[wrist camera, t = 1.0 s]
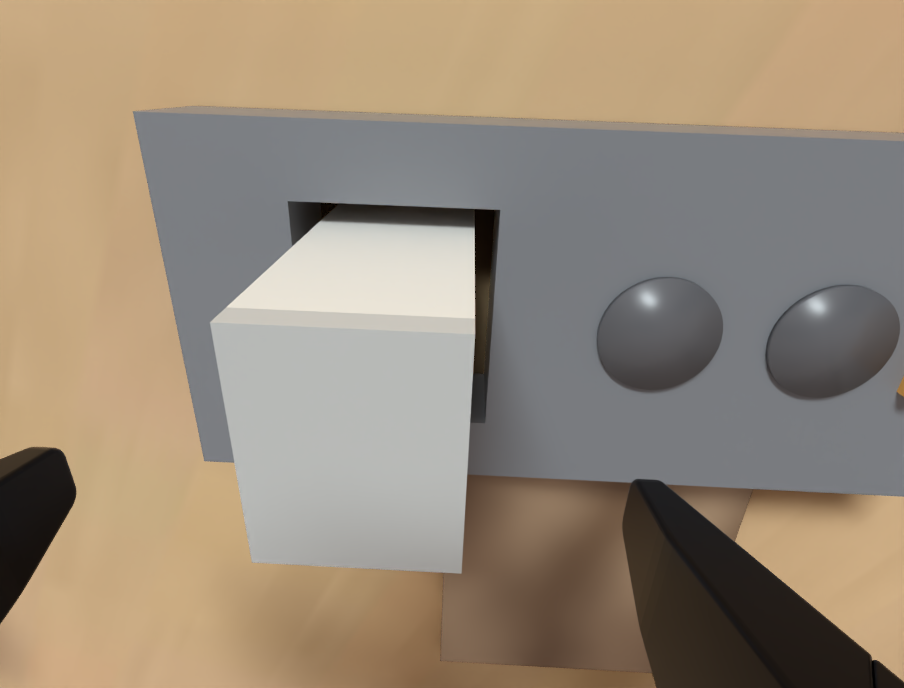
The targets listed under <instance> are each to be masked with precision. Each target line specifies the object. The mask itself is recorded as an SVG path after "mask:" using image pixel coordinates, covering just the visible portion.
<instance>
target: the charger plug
mask: <svg viewBox="0 0 904 688" xmlns="http://www.w3.org/2000/svg"><path fill="white" fill-rule="evenodd" d="M210 326H211V332H212V337H213V343H214V349H215V354H216V360H217V366H218V371H219V377H220V383H221V389H222V394H223V400H224V406H225V411H226V417H227V423H228V429H229V434H230V440H231V446H232V451H233V457H234V463H235V468H236V474H237V480H238V486H239V491H240V497H241V503H242V508H243V514H244V520H245V525H246V531H247V537H248V543H249V548H250V554H251V560H252V563H271V564H290V565H309V566H327V567H346V568H365V569H384V570H402V571H421V572H440V573H459V574H461V573H462V556H463V538H464V521H465V503H466V486H467V468H468V451H469V433H470V416H471V398H472V381H473V363H474V346H475V209H466V208H442V207H418V206H394V205H370V204H346V203H339V204H338V205H337V206H336V207H335V208H334V209H333V210H332V211H330V212H329V213H328V214H327V215H326V216H325V217H324V218H323V219H322V220H321V221H320V222H318V223H317V224H316V225H315V226H314V227H313V228H312V229H311V230H310V231H309V232H308V233H307V234H305V235H304V236H303V237H302V238H301V239H300V240H299V241H298V242H297V243H296V244H295V245H293V246H292V247H291V248H290V249H289V250H288V251H287V252H286V253H285V254H284V255H283V256H282V257H280V258H279V259H278V260H277V261H276V262H275V263H274V264H273V265H272V266H271V267H270V268H268V269H267V270H266V271H265V272H264V273H263V274H262V275H261V276H260V277H259V278H258V279H256V280H255V281H254V282H253V283H252V284H251V285H250V286H249V287H248V288H247V289H246V290H245V291H243V292H242V293H241V294H240V295H239V296H238V297H237V298H236V299H235V300H234V301H233V302H231V303H230V304H229V305H228V306H227V307H226V308H225V309H224V310H223V311H222V312H221V313H220V314H218V315H217V316H216V317H215V318H214V319H213V320H212V321H211V322H210Z"/></svg>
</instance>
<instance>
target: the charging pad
mask: <svg viewBox="0 0 904 688" xmlns="http://www.w3.org/2000/svg"><path fill="white" fill-rule="evenodd" d="M630 485H631V483H627V482H607V481H587V480H568V479H548V478H528V477H509V476H489V475H469V474H467V486H466V503H465V521H464V538H463V556H462V573H461V574H459V573H444V577H443V604H442V631H441V658H440V661H451V662H469V663H486V664H504V665H521V666H539V667H556V668H574V669H591V670H609V671H626V672H644V673H652V671H651V667H650V664H649V660H648V657H647V654H646V650H645V647H644V643H643V639H642V636H641V632H640V628H639V623H638V618H637V612H636V607H635V601H634V595H633V590H632V584H631V578H630V573H629V567H628V562H627V556H626V550H625V545H624V539H623V533H622V520H623V515H624V510H625V506H626V501H627V497H628V493H629V488H630ZM667 486H668V487H669V488H671V489H672V490H673V491H674V492H675V493H677V494H678V495H679V496H680V497H681V498H683V499H684V500H685V501H686V502H687V503H689V504H690V505H691V506H692V507H693V508H695V509H696V510H697V511H698V512H699V513H701V514H702V515H703V516H704V517H705V518H707V519H708V520H709V521H710V522H711V523H713V524H714V525H715V526H716V527H717V528H719V529H720V530H721V531H722V532H723V533H725V534H726V535H727V536H728V537H729V538H731V539H732V540H733V541H734V542H735V539H736V537H737V534H738V531H739V528H740V525H741V522H742V519H743V517H744V514H745V511H746V508H747V505H748V502H749V499H750V497H751V494H752V491H753V489H745V488H725V487H706V486H686V485H667Z"/></svg>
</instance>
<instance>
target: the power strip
mask: <svg viewBox="0 0 904 688" xmlns="http://www.w3.org/2000/svg"><path fill="white" fill-rule="evenodd" d="M133 114H134V119H135V124H136V129H137V134H138V139H139V143H140V148H141V153H142V158H143V163H144V168H145V173H146V178H147V183H148V187H149V192H150V197H151V202H152V207H153V212H154V217H155V222H156V227H157V231H158V236H159V241H160V246H161V251H162V256H163V261H164V266H165V271H166V275H167V280H168V285H169V290H170V295H171V300H172V305H173V310H174V315H175V320H176V324H177V329H178V334H179V339H180V344H181V349H182V354H183V359H184V364H185V368H186V373H187V378H188V383H189V388H190V393H191V398H192V403H193V408H194V412H195V417H196V422H197V427H198V432H199V437H200V442H201V447H202V452H203V456H204V461H213V462H233V463H234V457H233V451H232V446H231V440H230V434H229V429H228V423H227V417H226V411H225V406H224V400H223V394H222V389H221V383H220V377H219V371H218V366H217V360H216V354H215V349H214V343H213V337H212V332H211V326H210V322H211V321H212V320H213V319H214V318H215V317H216V316H217V315H218V314H220V313H221V312H222V311H223V310H224V309H225V308H226V307H227V306H228V305H229V304H230V303H231V302H233V301H234V300H235V299H236V298H237V297H238V296H239V295H240V294H241V293H242V292H243V291H245V290H246V289H247V288H248V287H249V286H250V285H251V284H252V283H253V282H254V281H255V280H256V279H258V278H259V277H260V276H261V275H262V274H263V273H264V272H265V271H266V270H267V269H268V268H270V267H271V266H272V265H273V264H274V263H275V262H276V261H277V260H278V259H279V258H280V257H282V256H283V255H284V254H285V253H286V252H287V251H288V250H289V249H290V248H291V247H292V246H293V245H295V244H296V243H297V242H298V241H299V240H300V239H301V238H302V237H303V236H304V235H305V234H307V233H308V232H309V231H310V230H311V229H312V228H313V227H314V226H315V225H316V224H317V223H318V222H320V221H321V220H322V215H321V202H322V203H346V204H370V205H394V206H418V207H442V208H466V209H490V210H495V212H494V227H493V242H492V256H491V271H490V286H489V301H488V316H487V331H486V346H485V361H484V374H478V373H473V381H472V398H471V416H470V433H469V451H468V468H467V474H469V475H489V476H509V477H528V478H548V479H568V480H587V481H607V482H627V483H632V481H633V480H635V479H652V480H660V481H662V482H663V483H664V484H666V485H686V486H706V487H725V488H745V489H765V490H785V491H804V492H824V493H844V494H863V495H883V496H903V497H904V133H889V132H862V131H836V130H810V129H784V128H758V127H732V126H706V125H680V124H654V123H627V122H601V121H575V120H549V119H523V118H497V117H471V116H445V115H419V114H392V113H366V112H340V111H314V110H288V109H262V108H236V107H210V106H186V107H176V108H165V109H154V110H143V111H133Z"/></svg>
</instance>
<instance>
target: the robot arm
mask: <svg viewBox="0 0 904 688" xmlns="http://www.w3.org/2000/svg"><path fill="white" fill-rule="evenodd" d="M75 498H76V486H75V483H74V480H73V477H72V474H71V471H70V469H69V466H68V463H67V460H66V457H65V455H64V453H63V452H62V451H61V450H60V449H57V448H48V447H31V448H27V449H24V450H22V451H19V452H17V453H15V454H12V455H10V456H7V457H5V458H2V459H0V624H1V622H2V621H3V620H4V618H5V617H6V615H7V614H8V613H9V611H10V610H11V608H12V607H13V605H14V604H15V602H16V601H17V599H18V598H19V596H20V595H21V593H22V592H23V590H24V588H25V587H26V585H27V584H28V582H29V580H30V579H31V577H32V575H33V573H34V572H35V570H36V568H37V567H38V565H39V563H40V561H41V560H42V558H43V556H44V554H45V553H46V551H47V549H48V548H49V546H50V544H51V542H52V541H53V539H54V537H55V535H56V534H57V532H58V530H59V528H60V527H61V525H62V523H63V522H64V520H65V518H66V516H67V515H68V513H69V511H70V509H71V508H72V506H73V504H74V501H75ZM622 533H623V539H624V545H625V550H626V556H627V562H628V567H629V573H630V578H631V584H632V590H633V595H634V601H635V607H636V612H637V618H638V623H639V628H640V632H641V636H642V639H643V643H644V647H645V650H646V654H647V657H648V660H649V664H650V667H651V671H652V674H653V677H654V681H655V684H656V688H904V682H903V681H902V680H901V679H900V678H898V677H897V676H896V675H895V674H894V673H892V672H891V671H890V670H889V669H888V668H886V667H885V666H884V665H883V664H881V663H880V662H879V661H877V660H873V661H872V657H871V655H870V654H869V653H868V652H867V651H866V650H864V649H863V648H862V647H861V646H860V645H858V644H857V643H856V642H855V641H854V640H852V639H851V638H850V637H849V636H847V635H846V634H845V633H844V632H843V631H841V630H840V629H839V628H838V627H837V626H835V625H834V624H833V623H832V622H831V621H829V620H828V619H827V618H826V617H825V616H823V615H822V614H821V613H820V612H819V611H817V610H816V609H815V608H814V607H813V606H811V605H810V604H809V603H808V602H807V601H805V600H804V599H803V598H802V597H801V596H799V595H798V594H797V593H796V592H795V591H793V590H792V589H791V588H790V587H788V586H787V585H786V584H785V583H784V582H782V581H781V580H780V579H779V578H778V577H776V576H775V575H774V574H773V573H772V572H770V571H769V570H768V569H767V568H766V567H764V566H763V565H762V564H761V563H760V562H758V561H757V560H756V559H755V558H754V557H752V556H751V555H750V554H749V553H748V552H746V551H745V550H744V549H743V548H742V547H740V546H739V545H738V544H737V543H736V542H734V541H733V540H732V539H731V538H729V537H728V536H727V535H726V534H725V533H723V532H722V531H721V530H720V529H719V528H717V527H716V526H715V525H714V524H713V523H711V522H710V521H709V520H708V519H707V518H705V517H704V516H703V515H702V514H701V513H699V512H698V511H697V510H696V509H695V508H693V507H692V506H691V505H690V504H689V503H687V502H686V501H685V500H684V499H683V498H681V497H680V496H679V495H678V494H677V493H675V492H674V491H673V490H672V489H671V488H669V487H668V486H667V485H666V484H664V483H663V482H662V481H660V480H652V479H635V480H633V481H632V483H631V485H630V488H629V493H628V497H627V501H626V506H625V510H624V515H623V520H622Z"/></svg>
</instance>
